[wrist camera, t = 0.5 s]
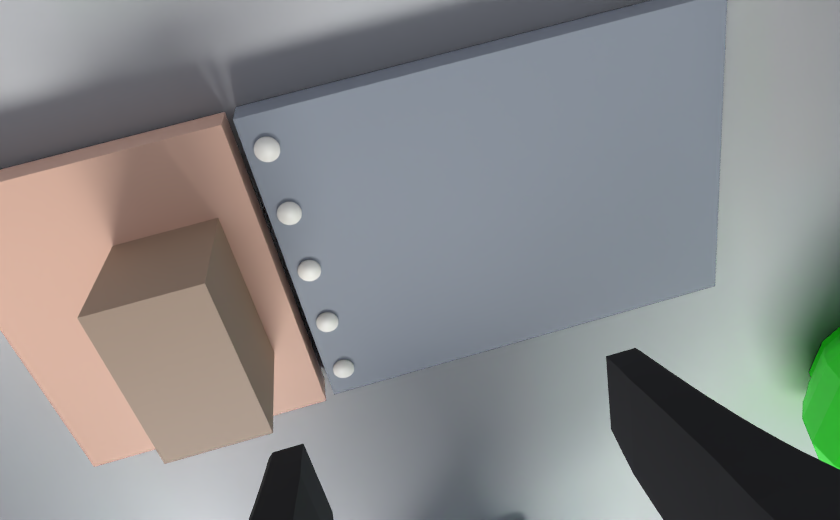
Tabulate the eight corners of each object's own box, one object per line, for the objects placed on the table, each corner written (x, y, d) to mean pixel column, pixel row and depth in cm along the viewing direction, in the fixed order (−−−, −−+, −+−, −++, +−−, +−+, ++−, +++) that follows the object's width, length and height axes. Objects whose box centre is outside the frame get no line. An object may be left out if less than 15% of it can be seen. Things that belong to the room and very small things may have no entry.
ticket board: (696, 269, 24) (716, 287, 23) (332, 372, 23) (334, 396, 22) (703, -13, 19) (729, -8, 18) (235, 107, 18) (232, 120, 17)
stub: (324, 378, 23) (333, 482, 19) (102, 441, 23) (62, 561, 18) (224, 111, 18) (207, 175, 14) (-65, 186, 17) (-172, 274, 13)
